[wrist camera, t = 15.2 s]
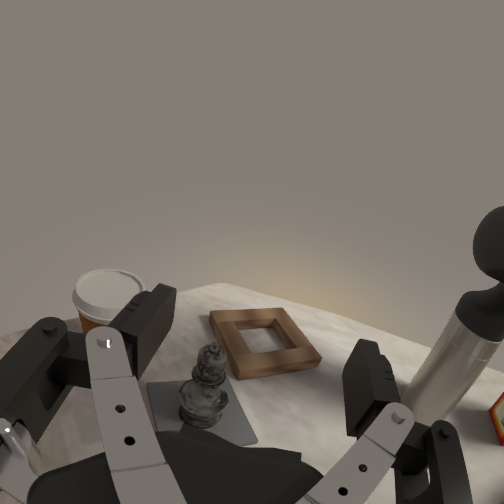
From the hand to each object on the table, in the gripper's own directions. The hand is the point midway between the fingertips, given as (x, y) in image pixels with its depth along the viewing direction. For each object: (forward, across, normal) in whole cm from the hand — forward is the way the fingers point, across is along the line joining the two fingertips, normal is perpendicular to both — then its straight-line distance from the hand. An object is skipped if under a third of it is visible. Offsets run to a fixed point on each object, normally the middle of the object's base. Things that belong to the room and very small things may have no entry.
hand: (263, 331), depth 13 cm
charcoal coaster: (+12, +3, +24) cm, 27 cm away
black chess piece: (+12, +3, +24) cm, 27 cm away
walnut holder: (+30, -2, +25) cm, 39 cm away
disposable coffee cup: (+16, +17, +25) cm, 34 cm away
